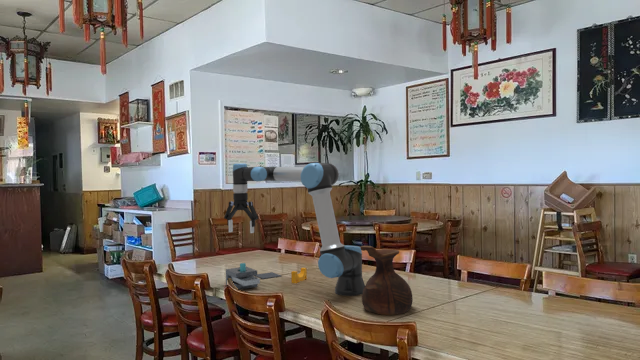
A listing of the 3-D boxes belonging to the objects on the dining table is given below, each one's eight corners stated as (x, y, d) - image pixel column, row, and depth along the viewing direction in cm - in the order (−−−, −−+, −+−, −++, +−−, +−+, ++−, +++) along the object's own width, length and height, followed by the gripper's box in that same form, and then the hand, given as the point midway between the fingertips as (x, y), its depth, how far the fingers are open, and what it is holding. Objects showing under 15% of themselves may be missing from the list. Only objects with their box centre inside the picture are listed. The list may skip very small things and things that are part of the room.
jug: (359, 306, 217) (358, 239, 217) (408, 306, 217) (407, 238, 216) (362, 322, 196) (361, 247, 195) (416, 321, 195) (415, 246, 194)
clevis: (262, 288, 253) (262, 272, 253) (241, 292, 247) (240, 275, 247) (246, 281, 270) (246, 266, 270) (226, 284, 264) (225, 269, 264)
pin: (247, 286, 260) (246, 263, 259) (241, 287, 258) (241, 264, 258) (244, 285, 262) (244, 262, 262) (239, 286, 260) (239, 263, 260)
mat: (281, 276, 282) (281, 275, 282) (262, 279, 276) (262, 278, 276) (272, 272, 292) (272, 272, 292) (253, 275, 286) (253, 274, 286)
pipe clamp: (300, 278, 276) (299, 267, 276) (306, 279, 274) (306, 268, 274) (288, 283, 266) (288, 271, 265) (295, 284, 264) (295, 272, 263)
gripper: (264, 192, 257) (265, 232, 258) (225, 192, 268) (226, 230, 268) (256, 193, 251) (257, 234, 251) (216, 192, 261) (217, 232, 262)
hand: (241, 232), depth 260 cm, fingers open, 13 cm apart
